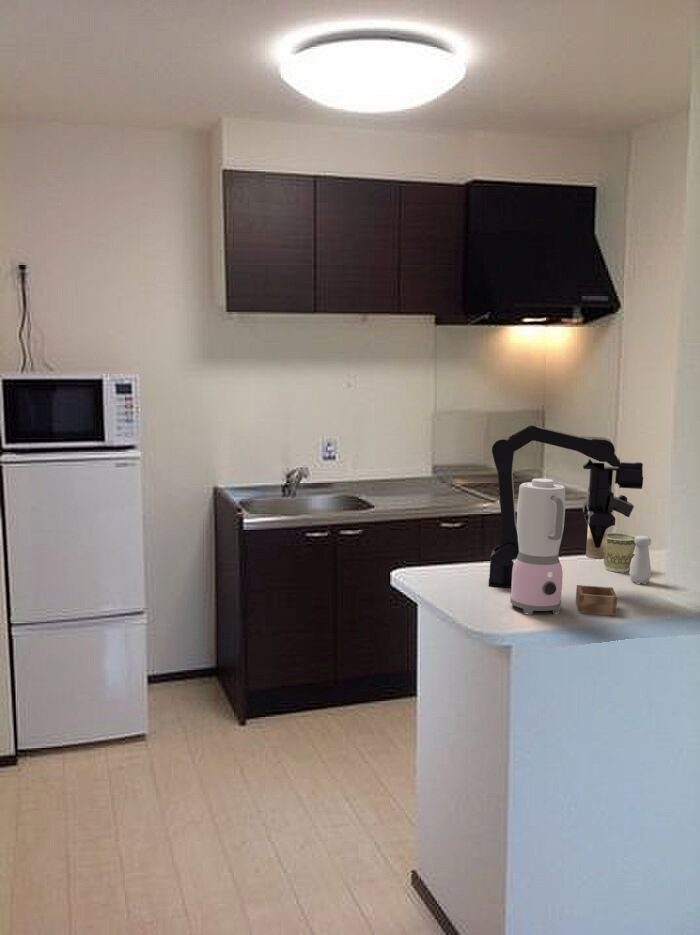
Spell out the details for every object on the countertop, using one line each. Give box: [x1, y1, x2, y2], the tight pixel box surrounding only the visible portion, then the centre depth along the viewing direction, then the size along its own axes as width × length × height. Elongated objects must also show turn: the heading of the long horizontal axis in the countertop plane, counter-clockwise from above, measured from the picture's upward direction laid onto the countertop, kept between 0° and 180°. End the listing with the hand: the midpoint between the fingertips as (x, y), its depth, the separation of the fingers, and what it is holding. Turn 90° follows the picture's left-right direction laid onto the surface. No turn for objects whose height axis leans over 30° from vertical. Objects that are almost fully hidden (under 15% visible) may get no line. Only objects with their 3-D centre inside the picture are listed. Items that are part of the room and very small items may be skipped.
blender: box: [510, 478, 566, 615], centre depth 214 cm, size 16×12×32 cm
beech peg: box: [585, 519, 609, 560], centre depth 231 cm, size 5×5×10 cm
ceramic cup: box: [603, 531, 637, 573], centre depth 257 cm, size 13×10×10 cm
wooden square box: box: [575, 584, 618, 617], centre depth 218 cm, size 9×9×5 cm
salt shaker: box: [628, 534, 652, 585], centre depth 244 cm, size 6×6×13 cm
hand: (596, 545), depth 231 cm, fingers closed on beech peg, 5 cm apart
